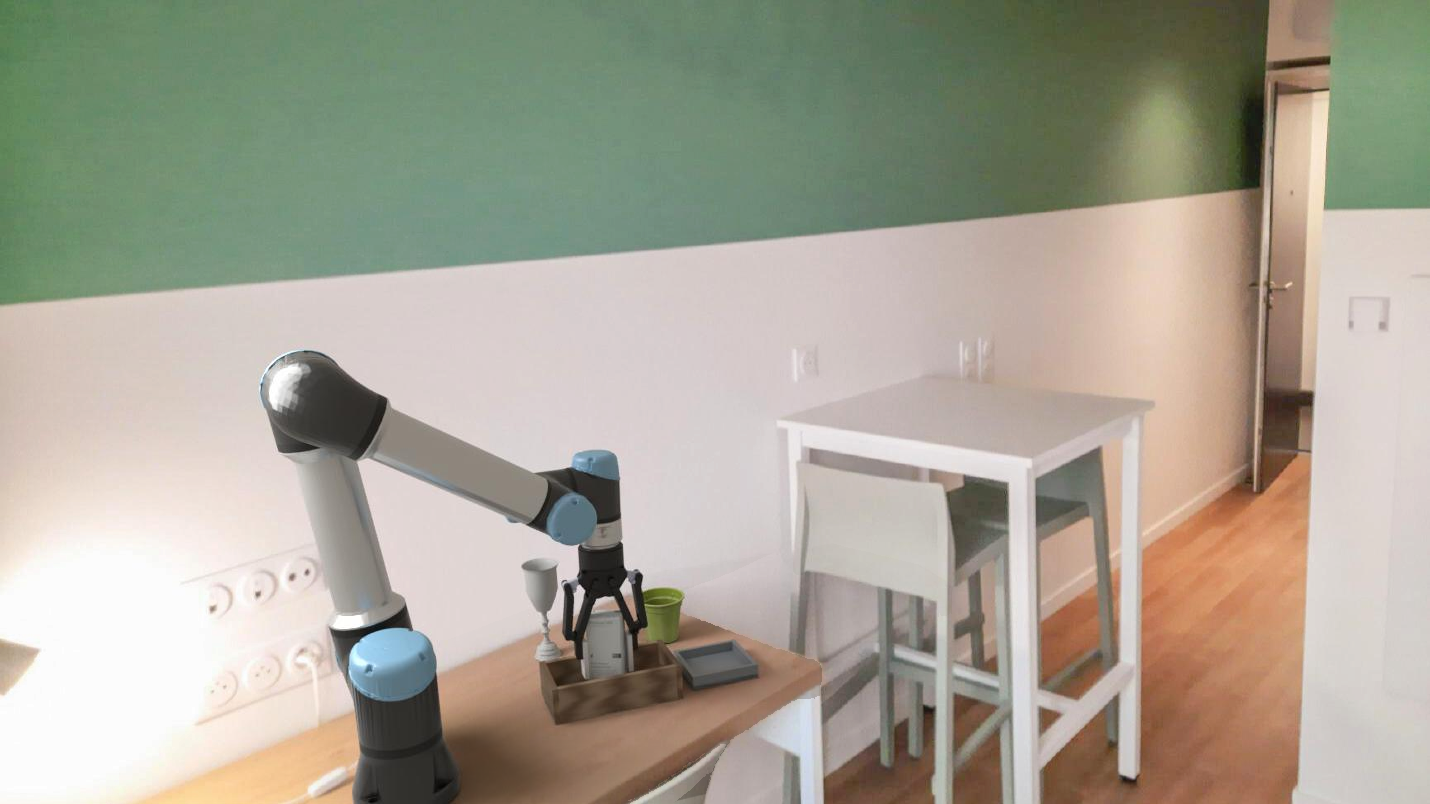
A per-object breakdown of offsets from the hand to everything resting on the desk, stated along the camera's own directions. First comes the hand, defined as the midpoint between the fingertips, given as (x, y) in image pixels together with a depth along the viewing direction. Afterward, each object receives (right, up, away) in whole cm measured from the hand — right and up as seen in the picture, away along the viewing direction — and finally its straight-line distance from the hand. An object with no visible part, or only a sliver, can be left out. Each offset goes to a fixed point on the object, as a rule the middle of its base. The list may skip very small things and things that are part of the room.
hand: (607, 671), depth 185 cm
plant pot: (+8, 0, +24) cm, 26 cm away
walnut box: (+1, -4, +1) cm, 5 cm away
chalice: (-13, -2, +19) cm, 24 cm away
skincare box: (0, -2, 0) cm, 2 cm away
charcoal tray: (+18, -2, +9) cm, 21 cm away
